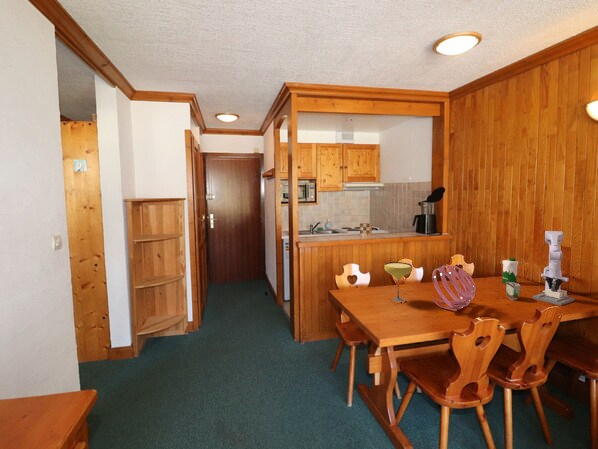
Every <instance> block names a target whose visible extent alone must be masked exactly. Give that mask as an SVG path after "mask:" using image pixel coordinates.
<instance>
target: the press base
mask: <svg viewBox="0 0 598 449" xmlns="http://www.w3.org/2000/svg"><path fill="white" fill-rule="evenodd" d="M550 290H551V289H550ZM557 291H559V292H563V298H560V299H559V298H555V297H550V296H546V295H545V292H542V293H539V294H535V295H532V299H534V300H537V301H541V302H545V303H550V304H554V305H556V306H564V305H566V304H569V303H572V302H575V301H576V300H575V298H574V297H570V296H568V294H567V290H563V289H560V290H559V289H558V290H557Z"/></svg>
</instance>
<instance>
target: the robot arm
mask: <svg viewBox="0 0 598 449" xmlns="http://www.w3.org/2000/svg"><path fill="white" fill-rule="evenodd" d="M544 240H545V243H547V244H548V247H549V251H548V253H549V254H548V265H547V266H545V267H544V268H543V273H540V277H541V278H543V279H544V280H545V286H544V287H545V289H544V290H542V293H545V291H546V290H548V289H551V284H552V283H555V284H556V290H558V289H559V290H561V285H562V284H563V283H564V282H569V279H570V278H569V277H565V276H563V273H562V270H561V267H562V266H561V265H562V260H563V251H562V248H561V245H560V244H562V243H563V240H564V231H562V230H561V231H558V230H557V231H556V230H546V231H545V234H544Z"/></svg>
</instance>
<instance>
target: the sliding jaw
mask: <svg viewBox="0 0 598 449" xmlns="http://www.w3.org/2000/svg"><path fill="white" fill-rule="evenodd" d="M544 293H545V295H546V296H550V297H555V298H559V299H560V298H563V292H559V291H557V290H556V284H555V283H552V284H551V290H550V289H548V290H546V291H545V292H544Z"/></svg>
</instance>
